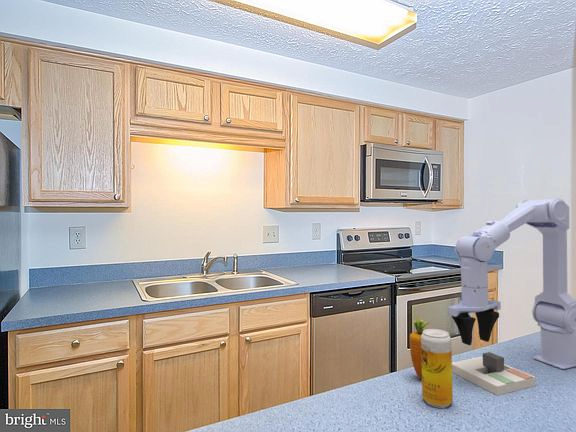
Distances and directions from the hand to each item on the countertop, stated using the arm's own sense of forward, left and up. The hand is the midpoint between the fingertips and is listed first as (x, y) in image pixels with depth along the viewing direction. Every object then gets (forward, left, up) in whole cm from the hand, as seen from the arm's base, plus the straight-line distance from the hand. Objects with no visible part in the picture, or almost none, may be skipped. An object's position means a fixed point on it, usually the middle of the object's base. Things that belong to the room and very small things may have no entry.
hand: (475, 342), depth 88 cm
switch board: (-4, 0, -9) cm, 10 cm away
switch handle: (-6, 0, -9) cm, 11 cm away
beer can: (+16, +4, -10) cm, 19 cm away
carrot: (+12, -6, -10) cm, 16 cm away
